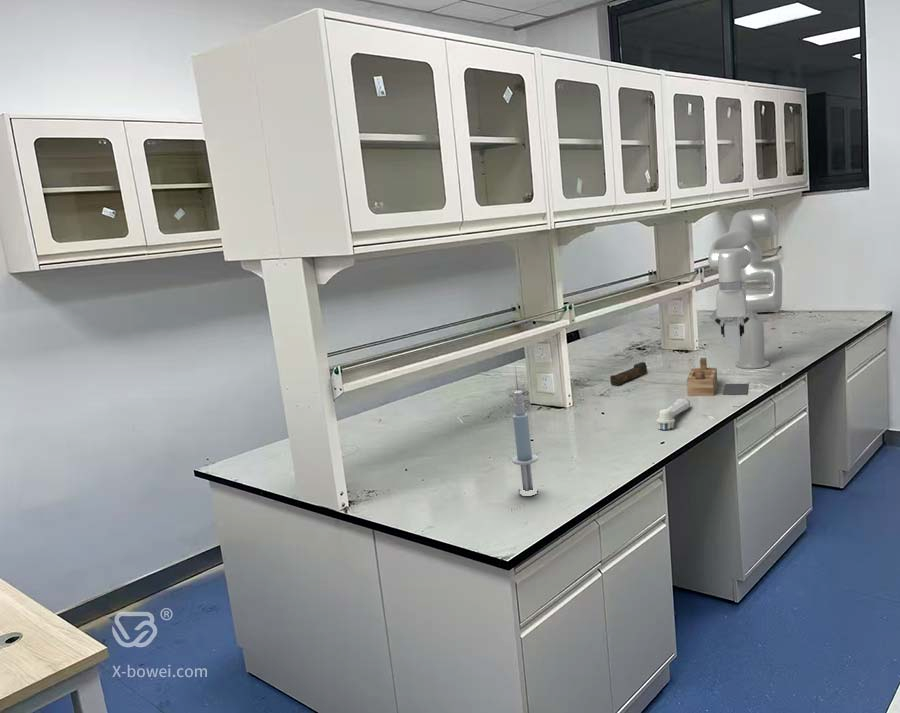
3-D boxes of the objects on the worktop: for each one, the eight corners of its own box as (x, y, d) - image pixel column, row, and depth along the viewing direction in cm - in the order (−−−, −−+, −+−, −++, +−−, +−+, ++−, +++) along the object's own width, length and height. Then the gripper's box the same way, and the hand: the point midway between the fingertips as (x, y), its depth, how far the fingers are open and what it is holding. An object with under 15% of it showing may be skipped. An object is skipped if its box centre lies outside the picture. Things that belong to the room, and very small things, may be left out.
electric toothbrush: (692, 397, 244) (670, 408, 223) (692, 417, 244) (671, 430, 223) (676, 397, 247) (653, 408, 225) (676, 416, 247) (654, 429, 226)
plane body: (692, 383, 275) (691, 358, 273) (717, 382, 271) (716, 357, 270) (687, 395, 259) (686, 369, 257) (713, 395, 256) (712, 368, 254)
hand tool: (619, 387, 283) (618, 373, 282) (610, 386, 287) (609, 372, 286) (653, 374, 297) (652, 361, 296) (643, 373, 301) (643, 360, 300)
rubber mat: (725, 384, 268) (725, 383, 267) (748, 384, 264) (748, 383, 264) (722, 394, 255) (722, 393, 255) (746, 394, 252) (746, 393, 252)
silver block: (726, 343, 261) (725, 322, 259) (741, 343, 259) (740, 321, 257) (725, 347, 255) (724, 326, 253) (740, 347, 252) (739, 325, 251)
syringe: (521, 499, 186) (508, 364, 179) (517, 490, 192) (505, 359, 186) (542, 496, 186) (531, 361, 179) (538, 487, 192) (526, 356, 186)
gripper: (756, 282, 252) (758, 332, 256) (706, 286, 259) (708, 334, 263) (756, 285, 245) (758, 337, 249) (704, 289, 253) (706, 339, 256)
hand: (732, 335), depth 256 cm, fingers closed on silver block, 5 cm apart
